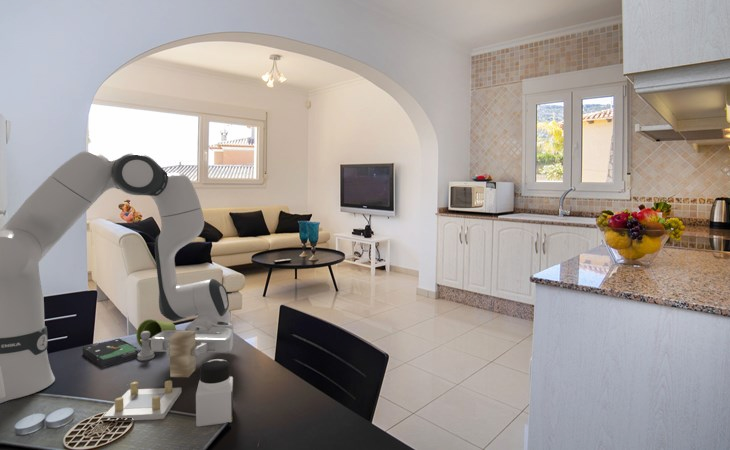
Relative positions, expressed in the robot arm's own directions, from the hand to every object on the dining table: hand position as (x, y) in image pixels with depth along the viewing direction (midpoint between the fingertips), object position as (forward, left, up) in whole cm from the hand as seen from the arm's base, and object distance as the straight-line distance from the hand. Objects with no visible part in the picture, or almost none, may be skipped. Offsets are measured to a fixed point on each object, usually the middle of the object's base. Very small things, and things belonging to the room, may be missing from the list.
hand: (181, 352), depth 101 cm
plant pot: (-15, +36, -6) cm, 39 cm away
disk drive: (-27, +24, -10) cm, 37 cm away
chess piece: (-16, +21, -9) cm, 28 cm away
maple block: (0, +1, -6) cm, 6 cm away
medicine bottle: (+11, -14, -9) cm, 20 cm away
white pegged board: (-6, -8, -9) cm, 13 cm away
